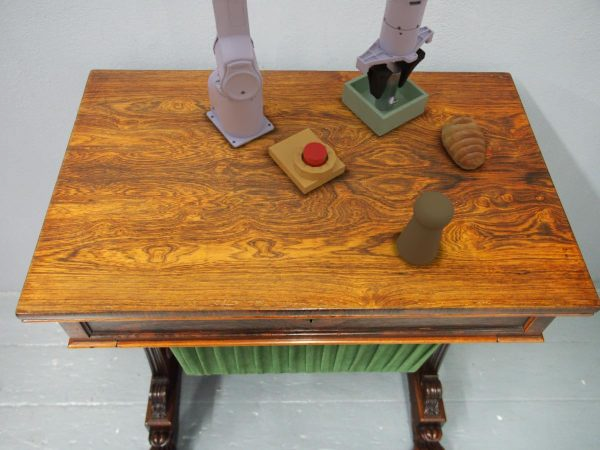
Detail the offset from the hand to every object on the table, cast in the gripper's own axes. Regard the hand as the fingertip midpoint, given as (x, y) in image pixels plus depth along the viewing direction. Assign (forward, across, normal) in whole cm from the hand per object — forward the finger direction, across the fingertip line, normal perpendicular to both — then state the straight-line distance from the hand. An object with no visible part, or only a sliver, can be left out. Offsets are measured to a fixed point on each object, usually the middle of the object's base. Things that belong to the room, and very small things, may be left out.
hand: (386, 89), depth 85 cm
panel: (+4, -19, -3) cm, 20 cm away
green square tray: (+4, 0, 0) cm, 4 cm away
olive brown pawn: (+4, -15, -25) cm, 29 cm away
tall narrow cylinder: (+3, 0, 0) cm, 3 cm away
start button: (+1, -19, -5) cm, 20 cm away
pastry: (+4, +5, -15) cm, 16 cm away
